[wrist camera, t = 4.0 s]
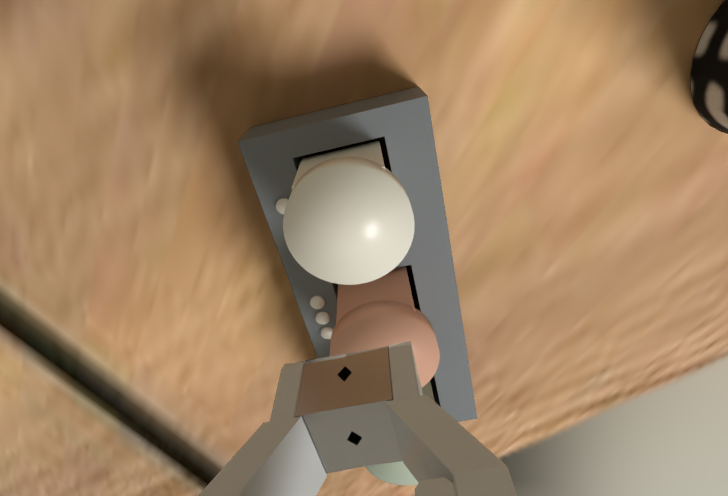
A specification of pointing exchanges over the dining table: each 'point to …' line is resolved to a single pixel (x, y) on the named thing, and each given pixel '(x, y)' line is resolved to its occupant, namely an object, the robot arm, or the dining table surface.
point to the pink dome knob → (384, 321)
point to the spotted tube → (712, 71)
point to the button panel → (423, 186)
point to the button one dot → (348, 216)
